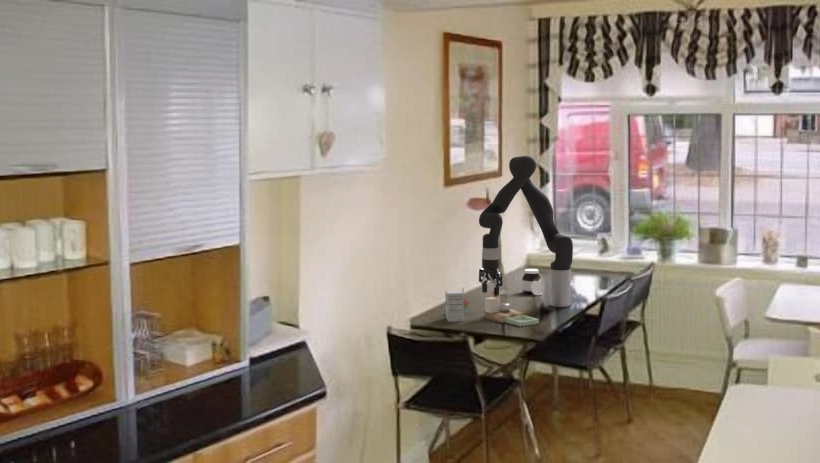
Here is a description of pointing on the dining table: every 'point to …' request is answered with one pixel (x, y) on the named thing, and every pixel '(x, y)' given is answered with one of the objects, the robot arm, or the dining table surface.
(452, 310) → the supplement box
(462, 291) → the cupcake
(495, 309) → the block
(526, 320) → the tray
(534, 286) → the spread jar
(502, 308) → the crank
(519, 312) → the plinth
